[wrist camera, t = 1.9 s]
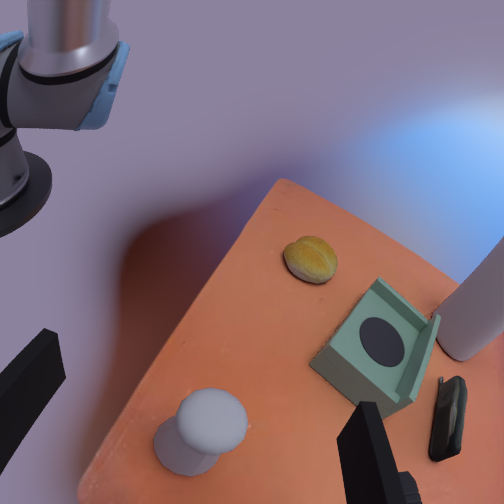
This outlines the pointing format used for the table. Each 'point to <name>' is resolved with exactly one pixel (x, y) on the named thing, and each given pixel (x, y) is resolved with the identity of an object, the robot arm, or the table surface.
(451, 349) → the cylinder vase
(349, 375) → the green tray with hole
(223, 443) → the salt shaker
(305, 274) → the bread roll
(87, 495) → the table surface
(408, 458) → the table surface
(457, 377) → the black stapler
